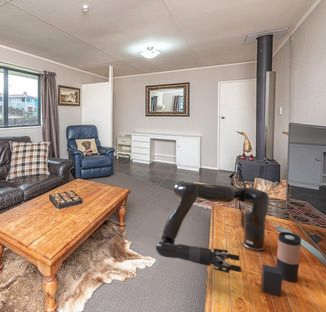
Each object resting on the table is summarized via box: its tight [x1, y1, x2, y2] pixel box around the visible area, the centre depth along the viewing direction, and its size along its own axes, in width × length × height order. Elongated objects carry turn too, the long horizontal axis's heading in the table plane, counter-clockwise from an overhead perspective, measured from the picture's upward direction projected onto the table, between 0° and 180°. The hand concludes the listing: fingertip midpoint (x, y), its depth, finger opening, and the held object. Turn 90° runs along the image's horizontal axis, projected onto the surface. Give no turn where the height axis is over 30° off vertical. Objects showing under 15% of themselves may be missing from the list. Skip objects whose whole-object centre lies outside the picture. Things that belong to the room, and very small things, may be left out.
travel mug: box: [276, 231, 302, 283], centre depth 103 cm, size 8×8×20 cm
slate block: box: [260, 264, 283, 297], centre depth 97 cm, size 4×6×10 cm
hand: (240, 263), depth 101 cm, fingers open, 8 cm apart
